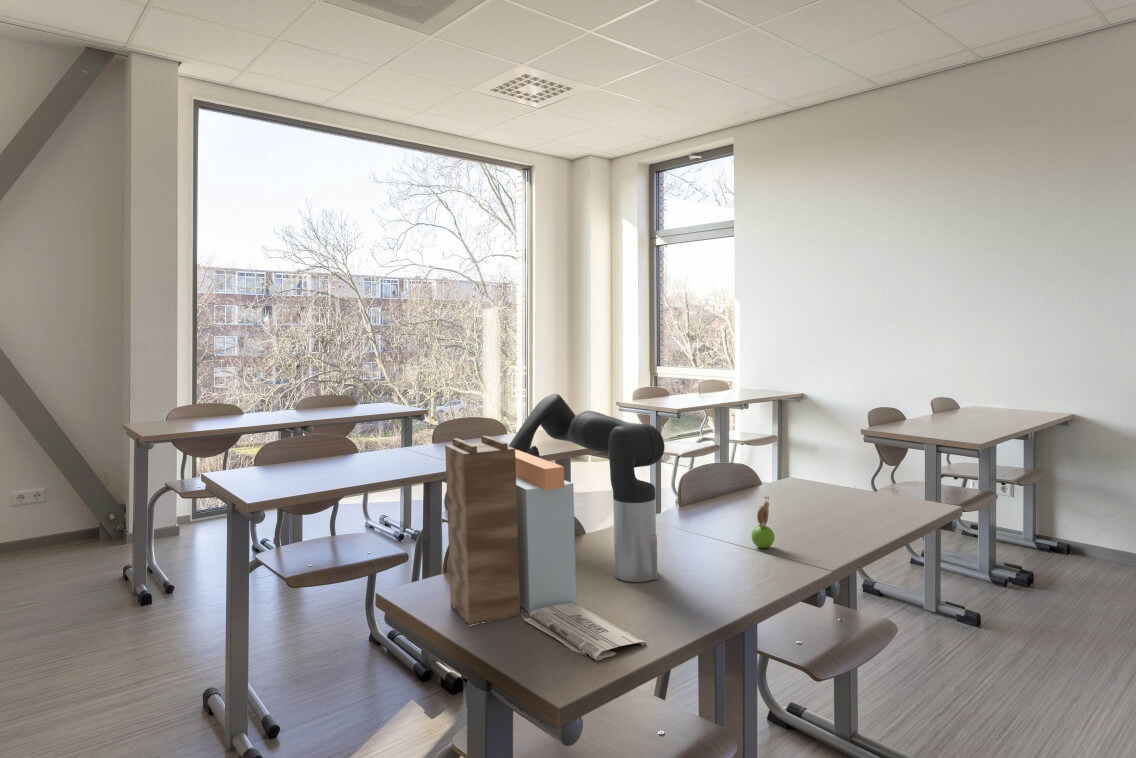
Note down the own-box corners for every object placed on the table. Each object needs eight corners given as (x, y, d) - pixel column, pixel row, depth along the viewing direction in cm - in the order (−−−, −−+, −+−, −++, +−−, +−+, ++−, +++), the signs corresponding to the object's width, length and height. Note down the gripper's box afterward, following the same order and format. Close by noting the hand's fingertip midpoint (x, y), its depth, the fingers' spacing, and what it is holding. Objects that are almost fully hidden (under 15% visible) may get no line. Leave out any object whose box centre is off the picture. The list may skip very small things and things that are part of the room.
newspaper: (520, 623, 129) (521, 610, 129) (575, 614, 136) (575, 601, 136) (590, 670, 110) (591, 654, 110) (649, 657, 116) (650, 642, 116)
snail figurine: (778, 545, 170) (778, 497, 169) (771, 552, 165) (770, 503, 164) (756, 542, 173) (756, 495, 172) (748, 549, 168) (748, 500, 167)
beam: (500, 469, 151) (499, 451, 151) (517, 467, 153) (516, 449, 153) (545, 489, 130) (544, 469, 130) (564, 487, 132) (563, 466, 131)
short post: (507, 592, 143) (503, 478, 141) (550, 584, 147) (547, 473, 146) (529, 613, 132) (526, 489, 130) (576, 603, 136) (573, 483, 135)
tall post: (450, 604, 137) (445, 439, 135) (497, 594, 142) (492, 434, 140) (469, 626, 127) (463, 447, 125) (520, 615, 131) (515, 442, 129)
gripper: (463, 466, 158) (482, 438, 145) (520, 459, 165) (543, 432, 152) (469, 497, 156) (489, 471, 142) (527, 489, 162) (551, 464, 149)
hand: (517, 451), depth 147 cm, fingers open, 8 cm apart
